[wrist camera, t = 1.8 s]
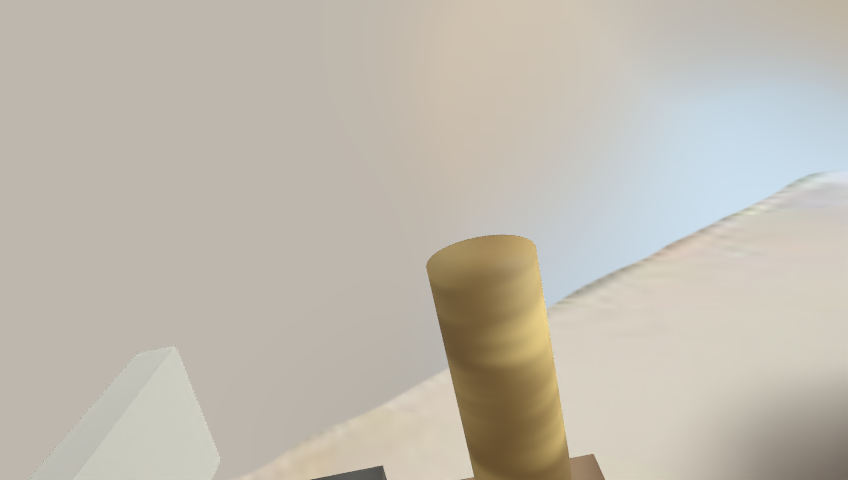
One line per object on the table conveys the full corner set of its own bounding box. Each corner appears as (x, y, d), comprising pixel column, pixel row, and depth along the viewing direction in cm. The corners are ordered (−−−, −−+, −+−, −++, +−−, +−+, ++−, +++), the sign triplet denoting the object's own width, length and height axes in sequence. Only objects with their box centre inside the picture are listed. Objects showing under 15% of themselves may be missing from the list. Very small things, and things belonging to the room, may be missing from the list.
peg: (574, 533, 28) (523, 227, 23) (600, 611, 24) (548, 264, 19) (492, 549, 28) (424, 248, 23) (506, 628, 24) (428, 289, 19)
